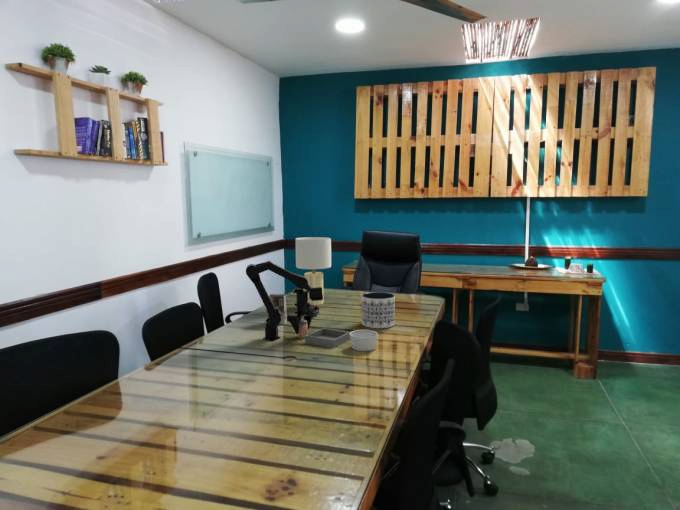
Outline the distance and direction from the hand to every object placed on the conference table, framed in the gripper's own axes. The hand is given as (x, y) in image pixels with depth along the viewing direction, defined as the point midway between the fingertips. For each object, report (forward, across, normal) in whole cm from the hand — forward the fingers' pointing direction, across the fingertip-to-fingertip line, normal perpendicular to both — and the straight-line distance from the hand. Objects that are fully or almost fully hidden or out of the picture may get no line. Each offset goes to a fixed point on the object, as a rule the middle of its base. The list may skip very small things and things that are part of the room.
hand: (302, 331), depth 237 cm
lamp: (+3, +61, +33) cm, 69 cm away
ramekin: (+3, -1, -35) cm, 35 cm away
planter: (+3, +40, -23) cm, 46 cm away
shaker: (+3, 0, 0) cm, 3 cm away
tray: (+3, 0, -15) cm, 15 cm away
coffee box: (+3, +16, +28) cm, 32 cm away
